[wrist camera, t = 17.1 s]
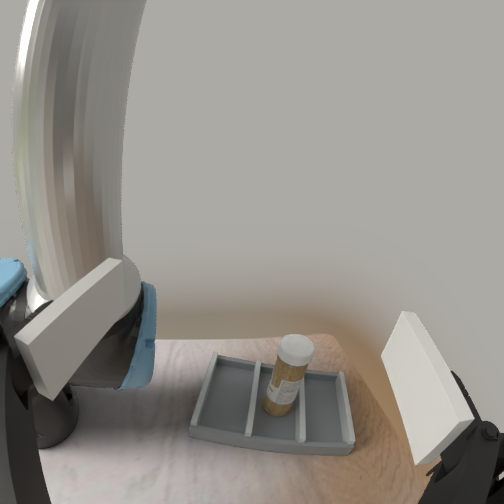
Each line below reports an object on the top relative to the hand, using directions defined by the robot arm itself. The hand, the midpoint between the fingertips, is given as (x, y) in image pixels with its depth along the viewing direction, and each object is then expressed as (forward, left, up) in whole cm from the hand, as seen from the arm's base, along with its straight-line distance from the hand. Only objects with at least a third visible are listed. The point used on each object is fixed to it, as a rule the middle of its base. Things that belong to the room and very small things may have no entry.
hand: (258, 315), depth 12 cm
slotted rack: (+3, +19, -30) cm, 35 cm away
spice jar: (+3, +19, -29) cm, 35 cm away
